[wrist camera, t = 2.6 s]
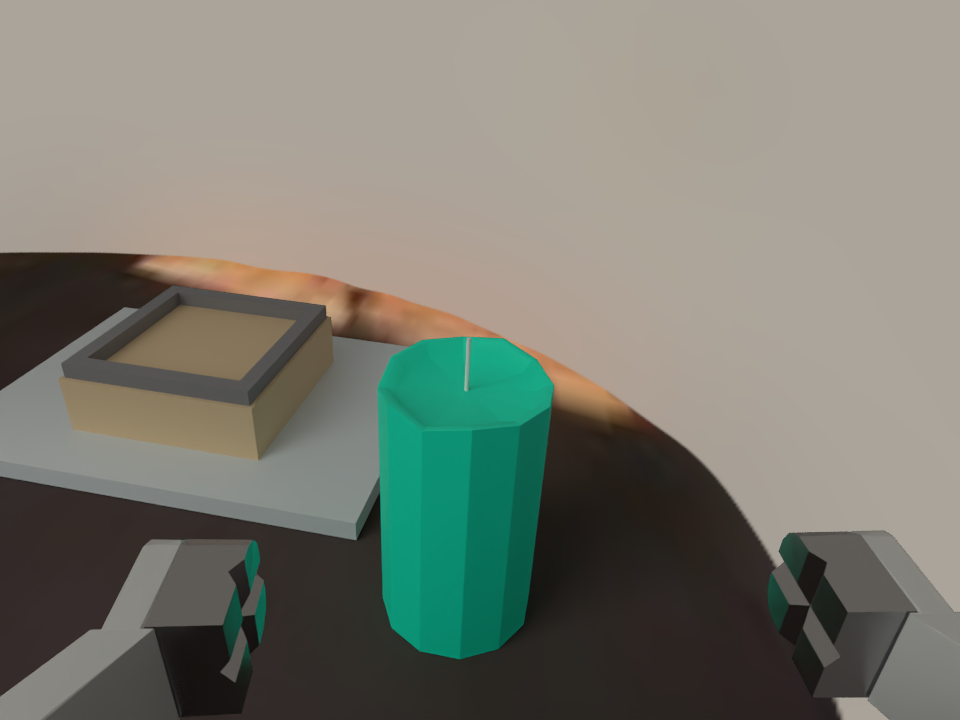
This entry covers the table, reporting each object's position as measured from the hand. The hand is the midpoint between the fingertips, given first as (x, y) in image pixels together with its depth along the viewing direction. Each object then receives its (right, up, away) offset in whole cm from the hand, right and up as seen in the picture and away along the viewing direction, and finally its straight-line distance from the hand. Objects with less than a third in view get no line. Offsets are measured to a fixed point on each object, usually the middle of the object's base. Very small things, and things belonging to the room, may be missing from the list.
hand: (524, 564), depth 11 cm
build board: (-15, +1, +29) cm, 33 cm away
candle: (-2, -7, +18) cm, 19 cm away
